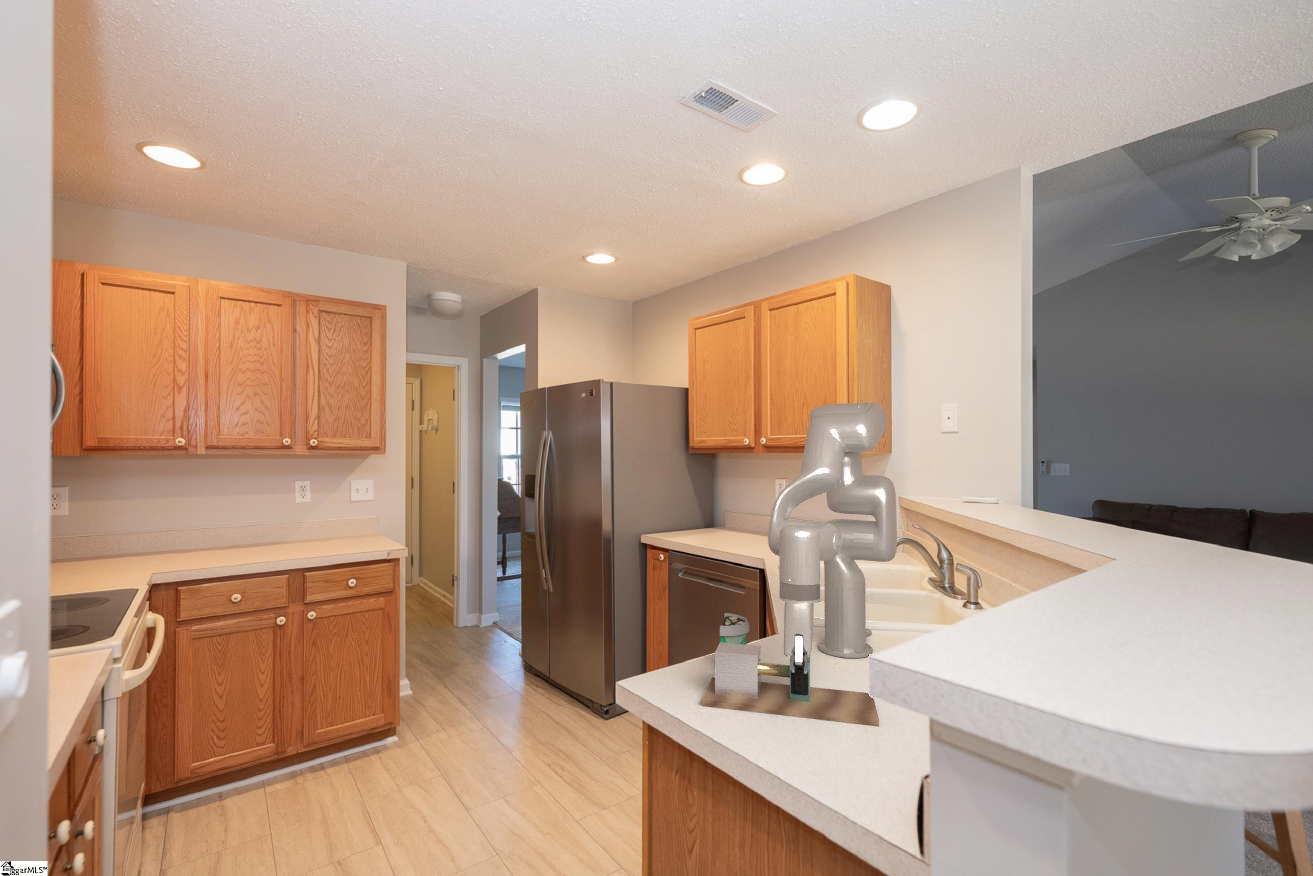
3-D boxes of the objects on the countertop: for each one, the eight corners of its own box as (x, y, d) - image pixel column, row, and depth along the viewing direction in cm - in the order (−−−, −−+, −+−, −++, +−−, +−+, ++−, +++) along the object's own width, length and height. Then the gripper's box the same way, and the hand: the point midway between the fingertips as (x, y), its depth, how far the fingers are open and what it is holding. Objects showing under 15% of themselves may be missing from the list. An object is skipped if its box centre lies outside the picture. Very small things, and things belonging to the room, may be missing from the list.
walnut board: (701, 705, 110) (701, 699, 110) (712, 682, 121) (712, 677, 122) (879, 726, 102) (878, 719, 102) (872, 699, 113) (872, 693, 114)
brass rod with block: (714, 691, 114) (714, 653, 114) (717, 684, 117) (717, 648, 117) (809, 702, 109) (809, 663, 109) (810, 695, 112) (810, 657, 113)
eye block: (714, 694, 112) (715, 651, 113) (719, 683, 118) (720, 642, 118) (757, 699, 110) (757, 655, 111) (760, 687, 116) (760, 646, 116)
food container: (748, 675, 126) (748, 628, 126) (719, 673, 127) (719, 626, 127) (750, 657, 138) (751, 614, 138) (724, 655, 139) (724, 612, 140)
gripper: (782, 582, 121) (782, 673, 120) (776, 599, 105) (776, 705, 104) (820, 584, 119) (820, 677, 118) (820, 602, 103) (820, 710, 102)
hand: (799, 689), depth 111 cm, fingers closed on brass rod with block, 3 cm apart
